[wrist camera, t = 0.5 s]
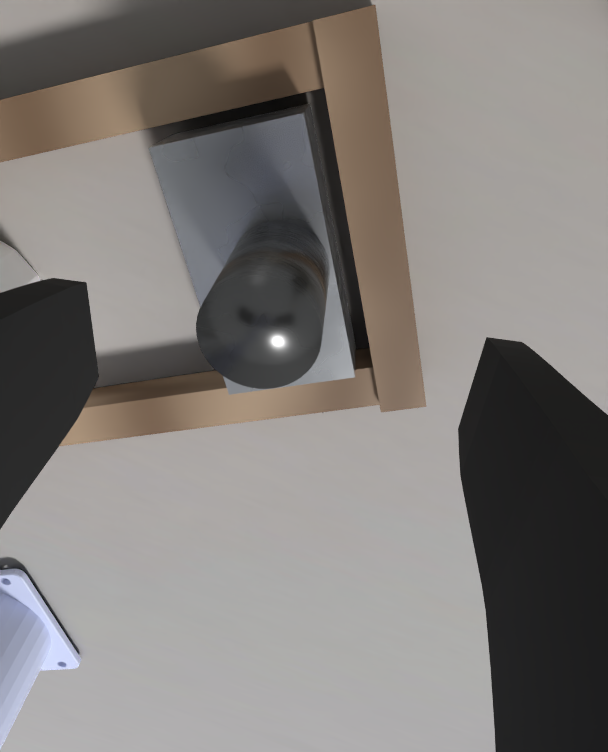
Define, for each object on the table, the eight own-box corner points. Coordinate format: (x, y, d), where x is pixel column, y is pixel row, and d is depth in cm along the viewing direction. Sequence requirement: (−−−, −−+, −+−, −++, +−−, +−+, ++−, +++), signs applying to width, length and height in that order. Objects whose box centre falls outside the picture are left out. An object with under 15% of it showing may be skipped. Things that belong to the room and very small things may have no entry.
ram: (241, 360, 22) (198, 479, 16) (172, 134, 18) (83, 183, 12) (355, 343, 21) (354, 461, 15) (310, 103, 17) (285, 140, 11)
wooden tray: (-74, 444, 26) (-160, 526, 22) (-259, 166, 20) (-428, 202, 16) (421, 377, 22) (435, 460, 18) (373, 7, 16) (379, -2, 12)
